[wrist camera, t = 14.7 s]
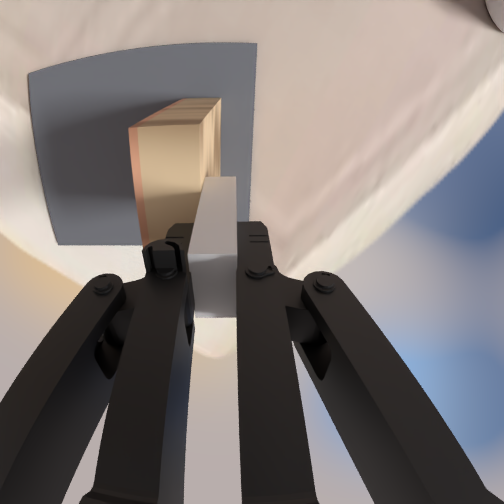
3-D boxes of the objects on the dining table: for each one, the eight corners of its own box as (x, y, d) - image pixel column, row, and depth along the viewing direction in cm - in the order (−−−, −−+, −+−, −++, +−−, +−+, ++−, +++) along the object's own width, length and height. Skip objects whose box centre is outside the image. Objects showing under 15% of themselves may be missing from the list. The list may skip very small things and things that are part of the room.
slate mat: (31, 73, 18) (28, 73, 18) (256, 43, 19) (257, 43, 19) (60, 242, 28) (58, 245, 28) (247, 243, 29) (248, 245, 29)
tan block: (182, 98, 21) (128, 128, 11) (221, 97, 21) (199, 124, 11) (185, 202, 26) (152, 295, 16) (220, 202, 26) (206, 297, 16)
